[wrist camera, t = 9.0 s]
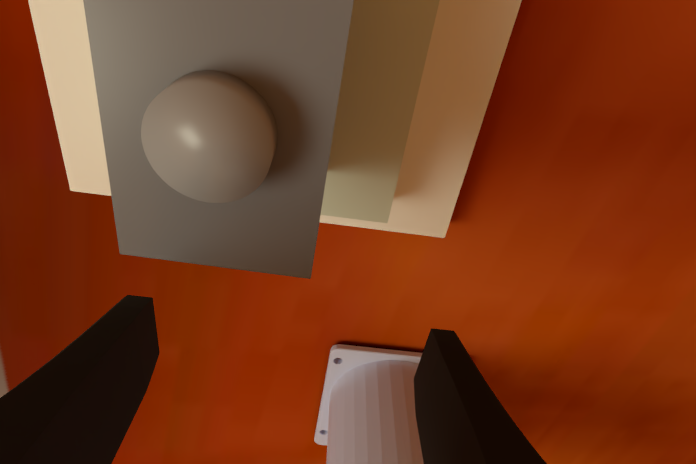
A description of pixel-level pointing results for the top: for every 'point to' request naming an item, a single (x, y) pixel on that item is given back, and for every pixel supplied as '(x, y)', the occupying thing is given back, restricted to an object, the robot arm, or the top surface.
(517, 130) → the top surface
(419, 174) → the stand
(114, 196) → the housing
